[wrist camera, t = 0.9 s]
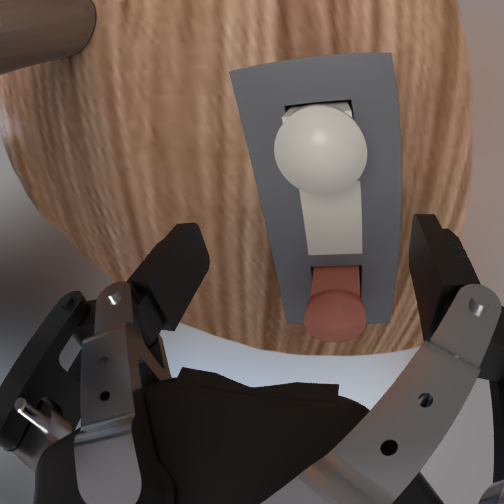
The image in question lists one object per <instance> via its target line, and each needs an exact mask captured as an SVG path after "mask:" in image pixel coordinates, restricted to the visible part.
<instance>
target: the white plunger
mask: <svg viewBox="0 0 504 504" xmlns="http://www.w3.org/2000/svg"><path fill="white" fill-rule="evenodd" d="M282 122H283V124H282V126H281V127H280V129H279V131H278V133H277V135H276V139H275V144H274V154H275V159H276V163H277V165H278V168H279V170H280V171H281V173H282V174H283V176H284V177H285V178H286V179H287V180H288V181H289V182H290V183H291V184H292V185H294V186H295V187H297V188H298V189H300V190H302V191H305V192H307V193H311V194H315V195H331V194H336V193H339V192H342V191H344V190H346V189H348V188H349V187H350V186H352V185H353V184H354V183H355V182H356V181H357V180H358V179H359V178H360V176H361V174H362V173H363V171H364V168H365V165H366V162H367V145H366V142H365V138H364V136H363V134H362V132H361V129H360V127H359V126H358V124H357V123H356V121H355V120H354V119H353V118H352V111H351V109H350V107H349V105H348V103H347V101H346V100H336V101H324V102H314V103H304V104H296V105H292V106H291V107H290V109H289V110H288V111H287V112H286V113H285V114H284V115H283V116H282Z"/></svg>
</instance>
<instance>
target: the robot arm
mask: <svg viewBox="0 0 504 504" xmlns="http://www.w3.org/2000/svg"><path fill="white" fill-rule="evenodd" d="M95 19H96V17H95V8H94V5H93V3H92V1H91V0H0V75H2V74H5V73H8V72H11V71H15V70H18V69H21V68H25V67H28V66H32V65H36V64H40V63H44V62H48V61H52V60H58V59H63V58H67V57H71V56H74V55H75V54H77V53H79V52H80V51H81V50H82V49H83V48H84V46H85V45H86V44H87V42H88V41H89V39H90V37H91V35H92V32H93V29H94V25H95ZM209 263H210V260H209V254H208V251H207V248H206V246H205V243H204V240H203V237H202V234H201V231H200V228H199V226H198V225H197V224H196V223H182V224H177V225H176V226H175V227H174V228H173V229H172V230H171V231H170V233H169V234H168V235H167V236H166V237H165V238H164V239H163V240H162V241H160V242H159V243H158V244H157V245H156V246H155V247H154V248H153V249H152V251H151V252H150V254H148V255H147V257H146V258H145V261H143V262H142V263H141V264H140V265H139V267H138V268H137V269H136V270H135V272H134V273H133V274H132V275H131V277H130V278H129V279H128V281H127V282H123V281H121V282H116V283H114V284H112V285H110V286H108V287H106V288H105V289H104V290H103V291H102V292H101V293H100V294H99V296H98V298H97V299H96V300H91V301H86V299H85V298H84V296H83V295H82V293H81V292H80V291H73V292H70V293H68V294H66V295H65V296H64V297H62V298H61V299H60V300H59V302H58V303H57V304H56V306H55V307H54V308H53V309H52V311H51V312H50V313H49V314H48V316H47V317H46V318H45V320H44V321H43V323H42V324H41V326H40V327H39V328H38V330H37V331H36V332H35V334H34V335H33V337H32V338H31V339H30V341H29V342H28V344H27V345H26V347H25V348H24V350H23V351H22V353H21V354H20V356H19V357H18V359H17V360H16V362H15V364H14V365H13V367H12V368H11V370H10V372H9V373H8V375H7V376H6V378H5V379H4V381H3V383H2V384H1V386H0V446H1V447H3V449H4V450H6V451H7V452H9V453H10V454H12V455H14V456H15V457H17V458H19V459H20V460H21V461H23V462H24V463H25V464H26V465H27V466H28V467H29V468H31V469H32V470H33V471H34V472H35V492H34V493H35V494H34V501H33V504H444V503H443V501H442V500H441V499H440V498H439V496H438V495H437V494H436V492H435V491H434V490H433V488H432V487H431V486H430V484H429V483H428V482H427V480H426V479H425V478H424V476H423V475H422V474H421V473H420V470H421V469H422V467H423V466H424V465H425V463H426V462H427V461H428V459H429V458H430V457H431V455H432V454H433V452H434V451H435V449H436V448H437V447H438V445H439V444H440V442H441V441H442V439H443V438H444V436H445V435H446V433H447V432H448V430H449V428H450V427H451V425H452V423H453V422H454V420H455V419H456V417H457V415H458V414H459V412H460V410H461V408H462V407H463V405H464V403H465V401H466V399H467V397H468V396H469V394H470V392H471V390H472V388H473V386H474V384H475V382H476V380H477V378H482V379H486V380H489V382H490V390H491V399H492V409H493V425H494V473H493V484H492V485H491V486H490V487H489V488H488V489H487V490H486V491H485V492H484V494H483V495H482V497H481V499H480V501H479V503H478V504H504V307H503V306H501V302H500V300H499V298H498V296H497V295H496V294H495V293H494V292H493V291H492V290H490V289H489V288H487V287H485V286H483V285H481V284H480V282H479V280H478V277H477V275H476V273H475V271H474V268H473V266H472V264H471V262H470V260H469V258H468V257H467V254H466V252H465V250H464V249H463V246H462V244H461V242H460V240H459V238H458V237H457V236H456V235H455V234H454V233H453V232H452V231H451V230H449V229H442V227H441V225H440V223H439V222H438V220H437V218H436V216H435V215H434V214H414V216H413V221H412V231H411V241H410V249H409V268H410V273H411V277H412V281H413V286H414V290H415V295H416V300H417V305H418V310H419V315H420V321H421V327H422V333H423V339H424V343H423V344H422V345H421V347H420V348H419V350H418V351H417V352H416V354H415V355H414V357H413V358H412V359H411V361H410V362H409V364H408V365H407V366H406V368H405V369H404V370H403V372H402V373H401V374H400V375H399V377H398V378H397V379H396V381H395V382H394V383H393V384H392V386H391V387H390V388H389V389H388V390H387V392H386V393H385V394H384V395H383V396H382V398H381V399H380V400H379V401H378V402H377V403H376V405H375V406H374V407H373V408H372V409H371V410H369V409H367V408H366V407H365V406H363V405H361V404H359V403H358V402H356V401H353V400H351V399H348V398H345V397H342V396H338V389H339V384H317V383H300V382H296V383H288V384H280V385H273V386H264V387H248V386H246V385H243V384H241V383H238V382H236V381H233V380H231V379H228V378H226V377H224V376H221V375H219V374H217V373H213V372H207V371H201V370H195V369H190V368H185V367H182V369H181V371H180V373H179V375H178V377H177V378H172V377H171V374H170V371H169V367H168V362H167V358H166V354H165V349H164V345H163V340H162V338H161V336H160V335H159V333H160V331H161V330H168V331H175V329H176V327H177V325H178V324H179V322H180V320H181V318H182V316H183V314H184V313H185V311H186V309H187V307H188V305H189V303H190V302H191V300H192V298H193V296H194V294H195V293H196V291H197V289H198V287H199V285H200V284H201V282H202V280H203V278H204V276H205V275H206V273H207V271H208V269H209ZM71 336H73V337H74V339H75V340H76V341H77V342H78V344H79V345H80V346H81V347H82V349H81V350H80V352H79V354H78V355H77V357H76V358H75V360H74V362H73V363H72V365H71V367H70V368H69V370H68V372H66V371H65V370H64V369H63V368H62V366H61V365H60V363H59V355H60V353H61V351H62V350H63V348H64V346H65V345H66V343H67V342H68V340H69V339H70V337H71ZM41 399H42V400H41ZM80 418H81V427H80V428H79V429H77V430H75V428H76V426H77V424H78V422H79V420H80ZM74 430H75V431H74Z"/></svg>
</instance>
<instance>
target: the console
mask: <svg viewBox="0 0 504 504" xmlns="http://www.w3.org/2000/svg"><path fill="white" fill-rule="evenodd" d="M229 73H230V77H231V81H232V85H233V89H234V93H235V97H236V101H237V105H238V109H239V113H240V117H241V121H242V125H243V129H244V134H245V138H246V142H247V146H248V150H249V154H250V159H251V163H252V167H253V171H254V176H255V180H256V184H257V189H258V193H259V197H260V202H261V206H262V210H263V215H264V219H265V224H266V228H267V232H268V237H269V241H270V246H271V251H272V255H273V260H274V264H275V269H276V273H277V278H278V283H279V287H280V292H281V297H282V302H283V306H284V311H285V316H286V321H287V323H294V324H304V316H305V310H306V305H307V302H308V301H309V299H310V298H311V297H310V292H311V285H312V278H313V271H314V266H350V265H359V278H360V298H361V299H362V300H363V302H364V304H365V307H366V324H369V323H389V321H390V316H391V309H392V303H393V296H394V289H395V281H396V273H397V264H398V254H399V242H400V227H401V205H402V154H401V133H400V118H399V107H398V97H397V89H396V81H395V74H394V67H393V61H392V55H391V53H354V54H337V55H325V56H316V57H307V58H299V59H292V60H285V61H279V62H273V63H268V64H262V65H257V66H252V67H248V68H243V69H239V70H234V71H230V72H229ZM336 100H346V101H347V103H348V105H349V107H350V109H351V111H352V118H353V119H354V120H355V121H356V123H357V124H358V126H359V127H360V129H361V132H362V134H363V136H364V138H365V142H366V145H367V162H366V165H365V168H364V171H363V173H362V174H361V176H360V178H359V179H358V180H357V181H356V182H355V183H354V184H353V185H352V186H350V187H349V188H348V189H346V190H344V191H342V192H339V193H336V194H331V195H315V194H311V193H307V192H305V191H302V190H300V189H298V188H297V187H295V186H294V185H292V184H291V183H290V182H289V181H288V180H287V179H286V178H285V177H284V176H283V174H282V173H281V171H280V170H279V168H278V165H277V163H276V159H275V154H274V144H275V139H276V135H277V133H278V131H279V129H280V127H281V126H282V124H283V122H282V116H283V115H284V114H285V113H286V112H287V111H288V110H289V109H290V107H291V106H292V105H296V104H304V103H314V102H324V101H336Z"/></svg>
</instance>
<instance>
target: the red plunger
mask: <svg viewBox="0 0 504 504" xmlns="http://www.w3.org/2000/svg"><path fill="white" fill-rule="evenodd" d="M310 297H311V298H310V299H309V301H308V302H307V305H306V310H305V316H304V326H305V328H306V330H307V331H308V332H309V333H310V334H311V335H312V336H314V337H315V338H317V339H320V340H323V341H327V342H344V341H348V340H351V339H353V338H355V337H357V336H358V335H360V334H361V333H362V332H363V330H364V329H365V326H366V307H365V304H364V302H363V300H362V299H361V298H360V278H359V265H350V266H314V271H313V278H312V285H311V292H310Z"/></svg>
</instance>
